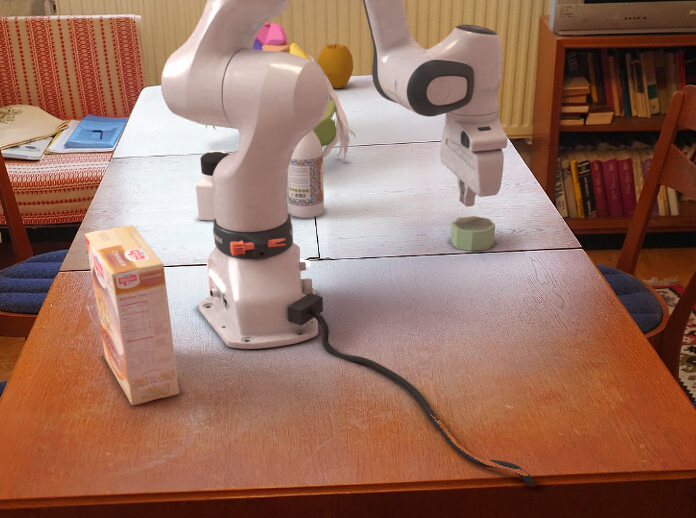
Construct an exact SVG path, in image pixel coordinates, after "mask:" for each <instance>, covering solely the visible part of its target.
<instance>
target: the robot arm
mask: <svg viewBox="0 0 696 518" xmlns="http://www.w3.org/2000/svg"><path fill="white" fill-rule="evenodd" d="M290 2H291V0H206V2H205V5H204V9H203V11H202V14H201V16H200V19H199V20H198V23H197V24H196V26H195V28H194V30H193V31H192V34H190V36H189V37H188V38H187V40H186V41H185V42H184V43H183V44H182V45H181V46H180V47H179V48H177V49H176V50H174V51H173V52H172V53H171V54H170V56H169V57H168V58H167V59H166V62H165V63H164V65H163V69H162V72H161V77H160V78H161V79H160V88H161V94H162V98H163V100H164V102H165V105H166V106H167V108H168V110H169V111H170V112H171V113H172V114H174V115H176V116H178V117H181V118H183V119H185V120H187V121H190V122H193V123H196V124H199V125H203V126H206V125H207V126H211V127H213V126H214V127H218V128H227V129H234V130H238V133H239V146H238V149H237V150H235V151H233V152H231V153H230V154H229V155H228V156H226V157H225V158H223V159H222V160H221V161H220V162H219V163H218V165H217V166H216V168H215V170H214V173H213V177H212V182H213V194H214V205H215V216H216V218H215V219H214V221H213V222H212V223H213V227H212V234H213V238H214V239H213V240H214V245H215V247H214V249H213V251H212V252H211V253H210V254H209V255H208V256H207V258H206V271H207V273H206V274H207V290H208V296H207V297H205V298H204V299H202V300H200V301H199V302H198V310H199V312H200V313H201V314H202V315H203V317H204V318H205V319H206V321H207V322H208V324H209V325H210V326H211V327H212V329H213V330H214V331H215V333H216V334H217V335H218V336H219V338H220V339H221V340H222V342H223V343H224V344H225V345H226V346H227V347H229V348H233V349H241V350H242V349H243V350H253V349H254V350H259V349H269V348H277V347H282V346H289V345H293V344H298V343H302V342H305V341H308V340H310V339H313V338H315V337H316V336H318V335H319V325H320V327H321V329H322V335H321V342H322V343H321V344H322V346H323V347H324V349H325V350H326V351H327V352H328V354H330V355H332V356H334V357H336V358H338V359H342V360H344V361H348V362H351V363H355V364H361V365H365V366H367V367H369V368H372V369H374V370H375V371H377V372H379V373H381V374H383V375H385V376H386V377H388V378H390V379H391V380H393V381H395V382H396V383H397V384H399V385H400V386H401V387H402V388H404V389H405V390H406V391H407V392H409V393H410V394H411V395H412V396H413V398H414V399H415V400H416V401H417V402H418V404H419V405H420V407H421V408H422V409H423V411H424V413H425V415H427V418H428V419H429V420H430V421H431V422H432V424H433V425H434V426H435V427H436V429H438V431H439V433H441V435H442V436H443V437H444V438H445V440H446V441H447V442H448V444H449V445H450V446H451V447H452V448H453V449H454V450H455V451H456V452H457V453H458V454H459V455H461V456H462V457H463V458H465V459H467V460H468V461H470V463H471V462H472V463H473V464H476V465H478V466H481V467H487V468H492V469H493V468H494V469H498V468H497V467H493V466H489V465H486V464H484V463H482V462H480V461H478V460H476V459H474V458H473V457H471V456H470V455H468V454H466V453H465V452H464V451H462V450H461V449H460V448H458V447H457V446H456V445H455V444H454V443H453V442H452V441H451V439H450V438H449V437H448V436H447V434H446V433H445V432H444V431H443V429H442V428H441V427H440V425H439V424H438V423H437V422H436V421H435V419H436V420H437V421H438V420H440V421H441V422H442V423H443V421H442V420H441V419H440V418H439V417H438V416H437V414H436V413H435V411H434V410H433V409H432V407H431V405H430V404H429V403H428V401H427V399H426V398H425V397H424V396H423V394H422V393H421V392H420V391H419V390H418V389H417V388H416V387H414V385H413V384H412V383H410V382H409V381H408V380H406V379H405V378H403V377H402V376H400V375H399V374H398V373H396V372H394V371H393V370H391V369H389V368H387V367H385V366H383V364H380V363H378V362H376V361H374V360H372V359H369V358H366V357H363V356H358V355H350V354H345V353H342V352H339V351H338V350H336V349H335V348H334V347H333V346H332V344H331V343H330V341H329V338H330V328H329V324H328V322H327V321H326V319H325V318H324V317H323V315H322V313H323V312H324V297H323V296H321V295H319V294H316V290H315V288H314V287H313V279H312V278H311V277H308V278H302V275H301V274H302V273H301V272H302V271H303V272H304V271H307V268H310V267H311V261H310V260H307V259H303V258H301V247H300V245H298V244H296V243H295V242H294V237H293V235H294V234H293V233H294V231H293V229H294V228H293V223H292V217H291V214H290V213H289V212H288V197H287V190H288V169H289V164H290V160H291V157H292V154H293V152H294V150H295V148H296V146H297V145H298V143H299V142H300V141H301V139H302V138H303V137H304V136H305V135H306V134H308V133H309V132H310V131H312V130H313V129H314V128H315V127H316V126H317V125H318V124H319V123H320V122H321V120H322V119H323V117H324V115H325V113H326V110H327V107H328V103H329V85H328V81H327V78H326V76H325V73H324V71H323V70H322V68H321V67H320V65H319V64H318V63H317V62H316V61H315V60H314V61H311V60H308V59H306V58H303V57H300V56H297V55H293V54H290V53H287V52H276V51H265V50H254V49H253V45H254V41H255V38H256V36H257V34H258V32H259V31H260V29H261V28H262V27H263V25H264V24H265V23H267V22H270V21H272V20H274V19H276V18H278V17H279V16H280V15H282V14H283V13H284V12H285V11H286V9H287V7H288V6H289V4H290ZM362 3H363V7H364V8H363V9H364V12H365V16H366V20H367V24H368V28H369V29H368V30H369V33H370V37H371V41H372V49H373V51H372V67H371V76H372V82H373V85H374V88H375V90H376V91H377V93H378V94H379V95H380V96H381V97H382V98H384V99H385V100H387V101H390V102H393V103H395V104H397V105H400V106H402V107H404V108H405V109H407V110H409V111H411V112H413V113H414V114H417V115H419V116H423V117H429V118H430V117H437V116H441V115H443V114H445V119H444V126H443V128H442V133H441V143H440V152H439V153H440V154H439V157H440V161H441V163H442V165H444V166H445V167H446V168H447V169H448V170H449V171H451V173H453V174H454V175H455V176H456V182H457V187H458V192H459V193H458V194H459V196H458V201H460V202H461V203H462V204H463V205H464V206H465V207H468V208H469V207H473V206H475V201H476V196H478V197H479V198H483V197H491V196H496V195H498V193H499V192H500V190H501V186H502V180H503V171H504V161H505V158H504V151H503V149H506V148H507V147H508V135H507V133H506V131H505V130H504V128H503V125H502V123H501V119H500V117H499V113H500V111H499V110H500V105H499V100H498V99H499V98H498V93H499V89H500V87H501V83H502V73H503V72H502V70H503V51H502V50H503V49H502V42H501V38H500V35H499V34H498V33H497V32H496V31H494V30H493V29H490V28H488V27H484V26H479V25H473V24H459V25H456V26H455V27H453V29H452V31H451V32H450V33H449V34H448V35H447V36H446V37H445V38H444V39H442V40H441V41H440V42H438V43H437V44H435V45H433V46H431V47H429V48H427V49H426V48H424V47H423V46H421V45H420V44H419V43H418V42H417V41H416V39H415V38H414V37H413V35H412V34H411V31H410V27H409V22H408V18H407V13H406V8H405V3H404V0H362ZM430 414H431V415H432V416H433V417H436V416H437V417H438V418H439V419H438V418H437V417H436V418H435V419H434V418H433V417H432V416H431V415H430ZM445 427H446V428H447V429H448V427H447V426H446V425H445ZM448 431H449V432H450V433H451V431H450V430H449V429H448ZM452 436H453V437H454V438H455V436H454V435H453V434H452ZM458 443H459V444H461V443H460V442H459V441H458ZM464 448H465V449H467V448H466V447H464ZM468 451H469V452H471V451H470V450H468ZM490 461H492V462H494V463H497V464H499V465H502V466H505V467H509V468H513V469H520V470H521V468H522V467H521V466H519V465H517V464H516V463H512V462H509V461H504V460H498V459H490ZM520 467H521V468H520ZM500 469H501V468H499V470H500ZM501 470H502V469H501ZM505 470H506V469H504V471H505ZM506 471H507V470H506ZM515 475H517V476H518V477H520V479H522V480H523V482H524V483H525V485H526V486H528V487H531V488H533V487H535V486H536V484H535V482H534V480H533V478H532V476H530V475H529V473H528V476H523V475H520V474H517V473H515Z"/></svg>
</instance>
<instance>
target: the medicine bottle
mask: <svg viewBox="0 0 696 518" xmlns="http://www.w3.org/2000/svg"><path fill="white" fill-rule="evenodd" d="M229 154H231V153H230V152H227V151H224V150H212V151H208V152H206V153H204V154H203V155H202V156H200V157H199V158H200V170H201V178H200V179H199V180H198V181H197V183H196V184H195V194H196V205H197V206H196V207H197V214H198V216H197V217H198V220H200V221H211V222H212V221H213V222H214V219H215V218H216V216H215V205H214V194H213V182H212V177H213V173H214V170H215V168H216V166H217V165H218V163H219V162H220V161H221V160H222V159H223V158H225V157H226V156H228V155H229Z"/></svg>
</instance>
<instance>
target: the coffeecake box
mask: <svg viewBox="0 0 696 518" xmlns="http://www.w3.org/2000/svg"><path fill="white" fill-rule="evenodd" d="M84 237H85V243H86V248H87V255H88V260H89V267H90V272H91V279H92V284H93V290H94V291H93V292H94V297H95V302H96V308H97V314H98V315H97V316H98V320H99V326H100V332H101V338H102V345H103V350H104V359H105V360H106V362H107V364H108V366H109V368H110V369H111V371H112V373H113V375H114V377H115V378H116V380H117V382H118V383H119V385H120V387H121V389H122V391H123V392H124V394H125V396H126V397H127V400H128V401H129V403H130V404H131V406H136V405H137V406H138V405H140V404H144V403H149V402H151V401H155V400H158V399H163V398H168V397H172V396H176V395H179V394H180V389H179V380H178V372H177V365H176V355H175V349H174V348H175V347H174V340H173V330H172V323H171V315H170V306H169V299H168V298H169V297H168V291H167V282H166V275H165V266H164V265H165V264H164V263H163V262H162V260H161V259H160V258H159V256H158V255H157V254H156V253H155V251H154V250H153V249H152V247H151V246H150V245H149V243H147V241H146V240H145V239H144V237H142V235H141V234H140V233H139V231H138V230H137V229H136V227H135V226H134V225H132V224H130V225H125V226H119V227H115V228H108V229H99V230H95V231H90V232H86V233H85V234H84Z"/></svg>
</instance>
